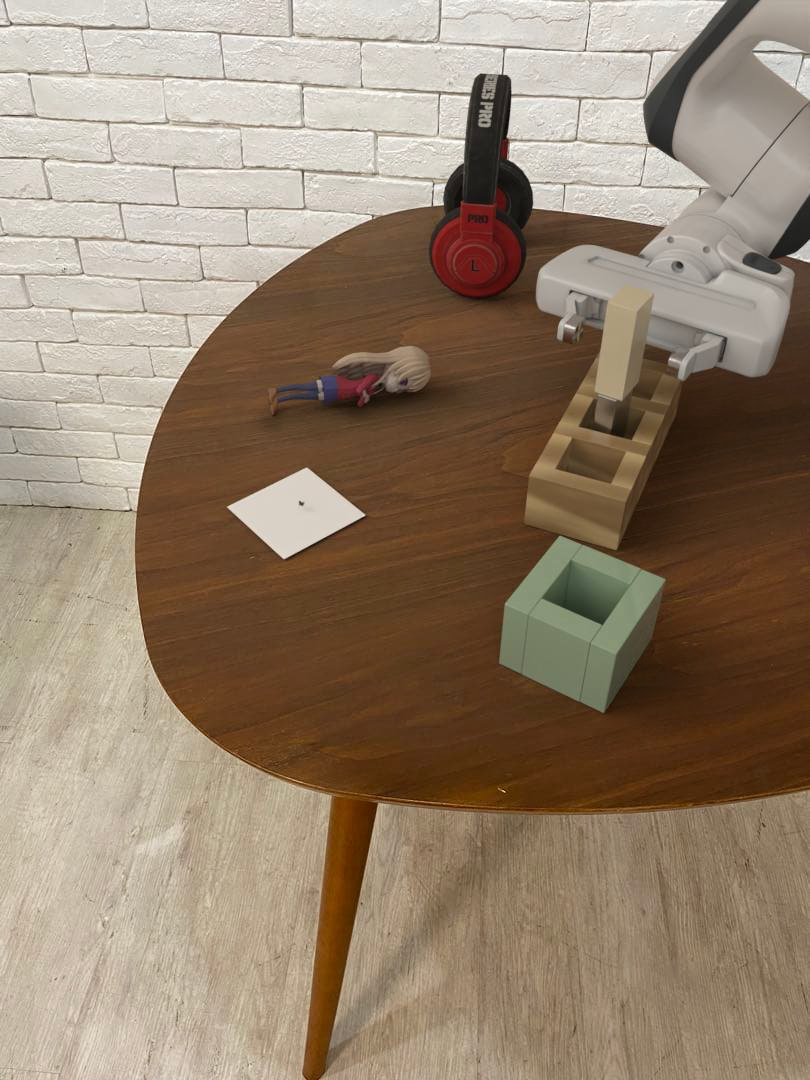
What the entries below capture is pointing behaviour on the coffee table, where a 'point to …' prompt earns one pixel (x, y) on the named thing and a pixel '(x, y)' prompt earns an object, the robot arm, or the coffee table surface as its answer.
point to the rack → (601, 461)
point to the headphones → (483, 202)
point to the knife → (621, 357)
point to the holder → (580, 622)
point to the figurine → (364, 377)
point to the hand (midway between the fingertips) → (619, 352)
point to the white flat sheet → (295, 512)
